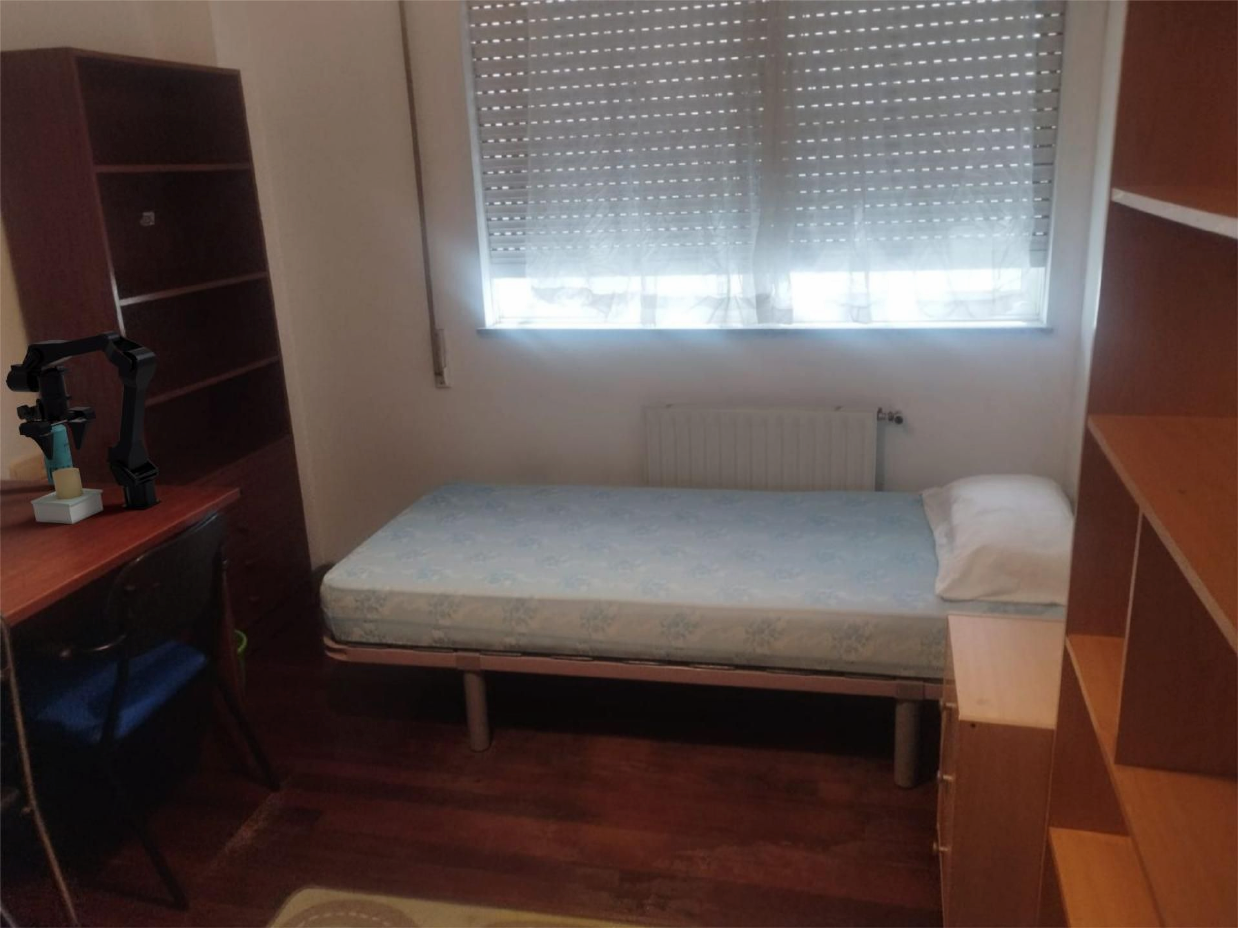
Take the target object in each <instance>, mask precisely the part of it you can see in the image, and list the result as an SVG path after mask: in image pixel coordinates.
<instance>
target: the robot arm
mask: <svg viewBox="0 0 1238 928" xmlns="http://www.w3.org/2000/svg"><path fill="white" fill-rule="evenodd" d="M97 351H98V352H99V351H102V352H103V353H104V354H105V357H106V358H107V360H108V361H109V362H110V363H111V364H112V365H114V366H115V367H117V374H118V377H119V379H120V380H121V383H122V384H123V385H122V386H123V388H122V390H123V391H122V400H121V411H120V412H121V414H120V422H119V423H120V425H119V426H120V427H119V436H118V437H119V438H118V442H117V443H115V444H112V445H109V446H108V449H107V453H108V455H107V456H108V457H107V459H106V463H108V469H109V471H111V474H112V476H113V478H114V480H115V481H116V484H117V485H118V486H121V487H122V491H123V496H124V497H123V498H124V503H125V504H123V505H121V507H122V508H123V509H134V510H135V509H136V510H146V509H148V508H150V507H152V506H154V505H156V504H158V503H162V502H163V501H162V499H161V498H157V491H156V487H155V480H154V478H157V477H158V476H159V471H160V469H159V467H157V466H156V465H155V464H154V463H153V462H152V461H151V460H150V459H149V457H148V450H147V448H146V446H145V445H144V443H143V430H144V421H145V410H146V399H147V398H146V397H147V388H148V385H149V384H150V382H151V381H152V379H153V377H154V376H155V373H156V369H157V366H158V358H157V355H156V354H155V352H153V351H152V350H151V349H150V348H148V347H145V346H143V345H142V344H141V343H140V342H137V341H134V340H132V339H129V338H127V337H125V336H123V335H122V334H120V333H119V332H117V331H113V330H111V331H105V332H101V333H98V334H97V335H95V334H94V335H91V336H86V337H82V338H77V339H72V340H64V339H50V340H43V341H40V342H35V343H31V344H29V345H28V346H27V350H26V354H25V357H24V358H23V361H22V363H14V364H11V365H10V371H8V373H7V375H6V379H5V384H6V386H7V387H8V389H9V390H10V391H12V392H14V393H38V395H39V397H38V398H36V400H35V404H34V405H32V406H29V405H28V404H24V405H20V406H17V407H16V415H17V416H18V418H19V420H20V421H22V420H25V422H22V423H20V424H19V426H18V431H19V435H20V436H24V437H25V438H29V439H32V440H33V441H34V442H35V443H36V444H37V445H38V447H39V449H40V450H41V452H42V454H43V453H44V454H45V456H46V458H47V459H48V460H53V447H54V433H50V432H51V430H52V427H53V426H57V425H60V424H61V425H63V424H66V425H67V426H68V428H69V429H70V431H71V435H72V441H73V444H74V447H75V449H76V450H78V451H82V447H83V445H84V441H85V439H86V436H87V432H88V430H89V429H90V426H91V424H92V423H94V419H97V415H96V410H95V409H94V408H92V407H90V406H89V407H88V406H75V407H71V408H70V404H69V401H71V400H73V397H72V394H70V395H69V394H68V393H67V388H66V387H67V386H66V383H65V378H64V376H66V375H70V374H71V372H72V371H71V370H70V369H69V368H68V367H65V366H64V365H63V364H60V363H62V362H65V361H67V360H69V359H70V358H72V357H74V356H79V355H84V354H89V353H93V352H97ZM56 364H58V365H56ZM54 365H55V366H54ZM52 366H53V367H52ZM43 419H44V420H45V421H42V420H43Z"/></svg>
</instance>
